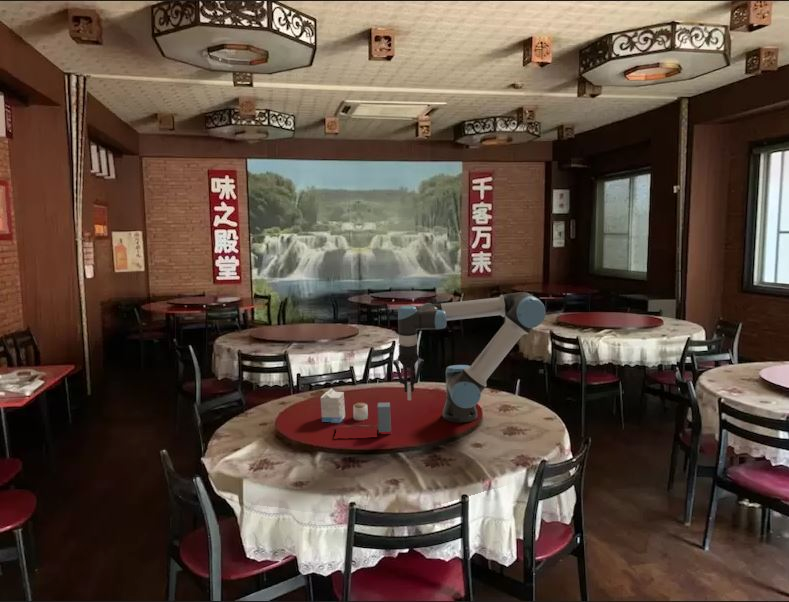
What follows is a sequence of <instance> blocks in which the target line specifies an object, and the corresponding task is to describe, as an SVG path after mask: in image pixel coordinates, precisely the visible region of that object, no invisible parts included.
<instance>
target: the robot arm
mask: <svg viewBox="0 0 789 602" xmlns="http://www.w3.org/2000/svg"><path fill="white" fill-rule="evenodd" d="M546 313H547V312H546V307H545V305H544V303H543V302H542V301H541V300H540V299H539V298H537V297H536V296H534V295H533V294H531V293H528V292H526V291H523V292H522V291H520V292H514V293H513V292H512V293H506V294H500V295H499V297H490V298H481V299H473V300H470V299H469V300H463V301H461V300H460V301H452V302H444V303H430V302H426V303H424V304H423V305H421V307H420V309H419V310H418V309H417V307H416V306H414V305H402V306H400V307H398V309H397V327H398V329H397V330H398V334H397V335H398V344H399V345H398V356H397V358H396V359H393V360H392V364H393V366H394V367H395V369H396V373H397V376H398V381H399V383H400V384H403V385H404V387H403V388H404V393H407V394H406V395H407V396H406V397H407V401H412V393H414V389H415V388H414V387H415V386H414V385H415V384H418V383H419V378H420V375H421V370H422V366H423V365H424V363H425V360H424V359H423V358H420V357H419V355H418V344H417V343H418V330H419V331H421V330H442V329H445V328H447V322H448V321H456V320H465V319H475V318H484V317H493V316H494V317H495V316H501V317H502V318H504V319H505V321H504V323H503V324H502V325H501V327H500V328H499V330H498V331H497V332H496V333H495V334H494V335H493V337H492V338H491V340H490V341H489V342H488V343H487V345H486V346H485V347H484V348H483V350H482V351H481V353H479V354H478V356H476V358H475V359H474V361H473V362H472V364H471V365H468V364H454V365H449V366H447V367H446V369H445V387H446V389H445V390H446V391H445V394H446V400H445V403H444V407H443V410H442V418H443V420H446V421H448V422H451V423H459V424H461V423H462V422H464V423H469V422H473V421H475V420H476V419H477V418H478V411H477V407H476V405H477V404H479V402H480V400H481V396H482V393H483V391H484V390H485V389H486V387H487V381H488V379H489V377H490V376H492V374H493V373H494V372H495V370H496V369H497V368H498V367H499V365H500V364H501V362H502V361H503V360H504V358H506V356H507V355H508V354H509V352H510V351H512V349H513V348H514V346H515V345H516V344H517V342H518V341H519V340H520V339H521V337H522V336H524V335H529V333H530V332H531V331H532V330H533V328H536V327H538V326H540V325H541V324H542V323H543V322H544V321H545V318H546ZM416 363H417V369H416V373H415V377H414V366H415V365H416ZM400 364H401V365H402V366H403V376H402V373H401V370H400V369H401V368H400V366H399V365H400ZM408 367H409V375H410V380H409V381H410V382H408Z"/></svg>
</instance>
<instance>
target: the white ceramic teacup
mask: <svg viewBox="0 0 789 602" xmlns="http://www.w3.org/2000/svg"><path fill="white" fill-rule="evenodd" d="M368 407H369V406H368V404H367V403H365V402H356V403H355V404H353V406H352V410H353V411H352V412H353V414H352V416H353V419H354V420H355V421H365V419H366V420H367V419H368V418H369V412H368V411H369V410H368Z"/></svg>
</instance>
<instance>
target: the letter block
mask: <svg viewBox="0 0 789 602" xmlns="http://www.w3.org/2000/svg"><path fill="white" fill-rule="evenodd" d="M391 422H392V421H391V402H377V423H378V424H377V425H378V433H379V432H390V431H391V432H392V423H391Z"/></svg>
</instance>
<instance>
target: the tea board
mask: <svg viewBox="0 0 789 602" xmlns="http://www.w3.org/2000/svg"><path fill="white" fill-rule="evenodd" d="M369 426H370V427H372V426H375V427H376V426H378V424H366V425H365V424H364V425H363V424H362V425H361V424H360V425H340V426H339V425H337V426H335V428H336V427H369Z"/></svg>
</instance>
